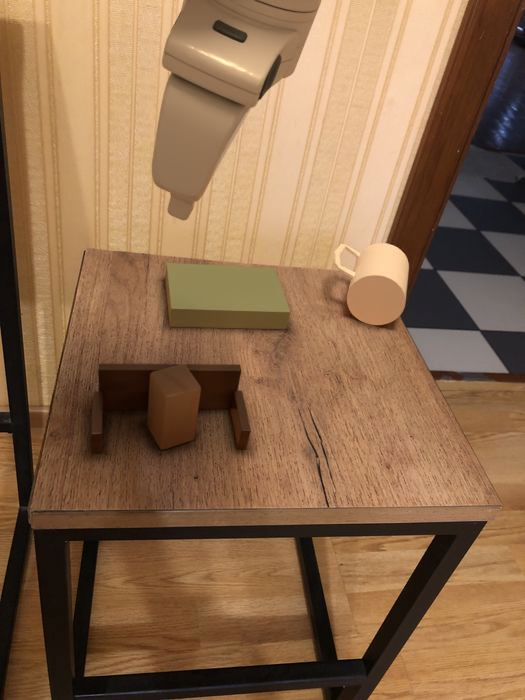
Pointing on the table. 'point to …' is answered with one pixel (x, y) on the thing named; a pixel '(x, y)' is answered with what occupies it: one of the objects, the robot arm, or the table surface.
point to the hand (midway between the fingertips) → (195, 185)
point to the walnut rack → (133, 394)
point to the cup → (376, 282)
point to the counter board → (225, 297)
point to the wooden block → (173, 406)
